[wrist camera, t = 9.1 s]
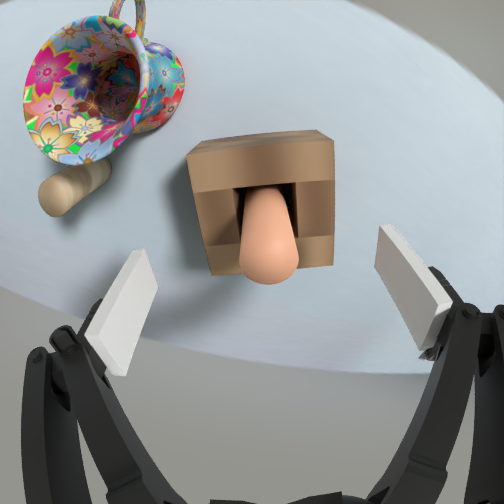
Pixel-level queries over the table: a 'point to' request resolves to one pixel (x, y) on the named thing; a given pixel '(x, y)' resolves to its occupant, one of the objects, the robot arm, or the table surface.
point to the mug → (99, 87)
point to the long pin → (267, 236)
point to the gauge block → (264, 173)
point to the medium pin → (72, 186)
